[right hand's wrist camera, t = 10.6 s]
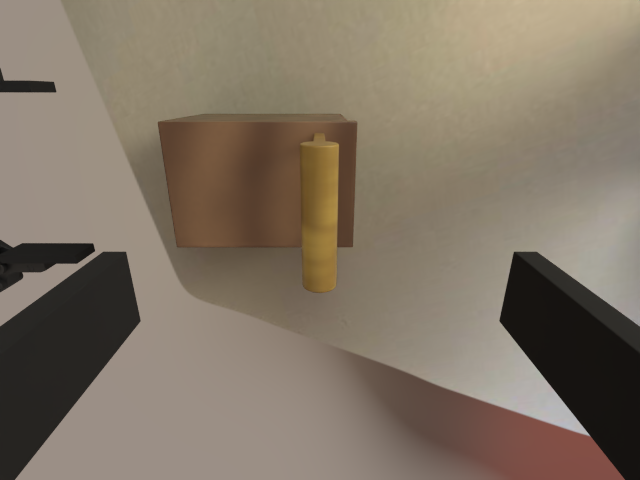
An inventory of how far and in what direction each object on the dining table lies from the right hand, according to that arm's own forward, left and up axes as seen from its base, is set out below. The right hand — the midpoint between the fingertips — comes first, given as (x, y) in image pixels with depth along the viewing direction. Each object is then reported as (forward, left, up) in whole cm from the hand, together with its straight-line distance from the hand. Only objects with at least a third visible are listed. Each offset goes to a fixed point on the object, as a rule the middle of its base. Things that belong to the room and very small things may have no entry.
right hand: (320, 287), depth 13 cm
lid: (+1, -4, -15) cm, 16 cm away
